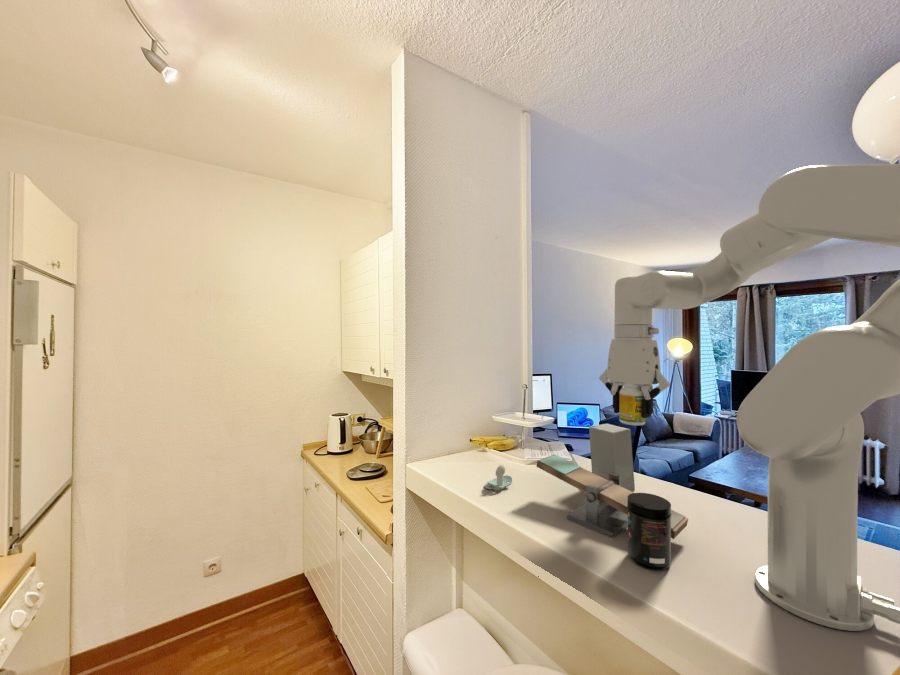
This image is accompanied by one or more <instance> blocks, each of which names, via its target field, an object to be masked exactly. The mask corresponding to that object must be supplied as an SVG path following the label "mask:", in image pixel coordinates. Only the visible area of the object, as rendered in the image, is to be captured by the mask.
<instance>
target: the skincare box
mask: <svg viewBox="0 0 900 675" xmlns="http://www.w3.org/2000/svg"><path fill="white" fill-rule="evenodd" d="M588 429H589V430H588V432H589V434H588V435H589V444H590V446H589V448H590V459H591V460H590V463H591V472H592V473H594V474H596V475H598V476H600V477H602V478H604V479H606V480H609V473H613V474H617V475H620V476H621V487H623V488H625V489H627V490H630V491H632V492H634V493H635V490H636V487H635V474H634V472H635V470H634V458H633V445H632V432H631V431H632V430H631V429H630V428H626V427H621V426H617V425H615V424H611V423H602V424H596V425H591V426H589V427H588Z"/></svg>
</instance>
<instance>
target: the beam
mask: <svg viewBox="0 0 900 675" xmlns="http://www.w3.org/2000/svg"><path fill="white" fill-rule="evenodd" d="M536 468H538V469H540V470H542V471H544V472H545V473H548V474H549V475H552V476H553V477H555V478H557V479H558V480H561V481H563V482H565V483H566V484H568V485H571V486H572V487H574V488H576V489H577V490H580V491H582V492H583V493H585V494H586V485H591V486H594V487H597V488H599V500H600V501H602V502H604V503H606V504H608V505H610V506H612V507H614V508H616V509H618V510H619V511H621V512H623V513H625V514H627V515H628V507H627V504H628V495H630V494H632V493H635V491H634V492H632V491H630V490H627V489H625V488H623V487H621V486H619V485H617V482H616V481H615V480H610V481H609V480H606V479H604V478H602V477H600V476H598V475H596V474H594V473H592V471H589V470H588V469H586V468H584V467H582V466H580V465H578V464H576V463H574V462H572V461H571V460H567V459H565V458H563V457H561V456H559V455H558V454H552V455H549V456H547V457H545V458H541V459H538V460H537V462H536ZM688 522H689V517H686V515H683V514H681V513H680V512H677V511H675V510H673V509H671V540H675V539H676V537H677V536H678V535H679V534H681V533H682V531H683V530H684V529H685V528H686V527H687V525H688Z"/></svg>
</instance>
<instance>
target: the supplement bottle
mask: <svg viewBox="0 0 900 675" xmlns="http://www.w3.org/2000/svg"><path fill="white" fill-rule="evenodd" d="M642 399H644V395H643V392H642V388H641V386H639V385H634V384H631V383H624V384H623V388H622V389H621V390H620V392H619V413H618V415H619V416H618V418H619V422H620V423H621V424H624V425H629V426H644V425H645V424H646V421H647V418H642Z"/></svg>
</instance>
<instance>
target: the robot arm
mask: <svg viewBox="0 0 900 675" xmlns="http://www.w3.org/2000/svg"><path fill="white" fill-rule="evenodd" d="M831 239H839V240H848V241H854V242H855V241H856V242H865V243H872V244H880V245H886V246H891V247H898V248H900V163H889V164H887V163H886V164H885V163H884V164H883V163H881V164H877V163H875V164H820V165H819V164H817V165H808V166H803V167H799V168H796V169H793V170H791V171H789V172H787V173H784V174H783V175H781V176H779V177H778V178H777V179H776V180H775V181H773V182H772V183H771V184H770V185H769V186H768V187H767V188H766V189H765V191H764V192H763V194H762V195H761V198H760V200H759V203H758V212H757V213H755V214H753V215H751V216H750V217H748V218H747V219H745V220H743V221H741V222H740V223H737V224H735V225H734V226H733V227H730V228H728V229H727V230H725V231H724V232H723V234H722V235H721V236H720V240H719V248H720V251H721V252H720V253H719V254H717V256H716V257H714V258H712V259H711V260H710V261H707V262H706V263H705V264H703V265H701V266H699V267H697V268H695V269H692V270H691V271H687V272H681V271H667V270H655V271H649V272H647V273H644V274H641V275H638V276H636V275H635V276H625V277H621V278H619V279H618V280H616V281H615V284H614V325H613V326H614V329H613V330H614V332H613V333H614V339H613V338H612V339H611V341H610V345H609V349H608V350H609V351H608V356H607V367H606V369H605V370H604V372H603V373H602V374H601V375H600V376H599V378H598V380H600V382H601V383H602V384H603V385H604V386H605V387H606V389H607V390H608V391H609V392H610V395H611V396H612V408H613V413H614V414H619V392H620V390H621V389H622V388H624V386H623V384H624V383H631V384H634V385H639V386H641V389H642V392H643V395H644V399H642V418H646V419H647V418H650V417H652V414H653V413H654V399H655V398H656V397H657V396H659V394H661V393H662V392H663V391H665V390H667V389H668V388H669V387H670V386H671V383H670V381H668V380H667V378H666V377H665V376H664V375H663V374H662V372H661V359H660V351H659V345H658V341H657V339H653V338H654V335H655V336H656V335H659V333H660V328H659V327H654V325H653V309H660V310H663V309H664V310H668V309H670V310H671V309H672V310H689V309H693V308H697V307H700V306H701V305H704V304H707V303H709V302H711V301H713V300H716V299H719V298H720V297H722V296H725V295H726V294H729V293H731V292H732V291H734V290H735V289H737V288H738V287H740V286H741V285H742V284H743V283H745V282H746V281H748V280H749V279H750V278H751V277H752V276H753V275H755V274H756V273H758V272H761V271H763V270H764V269H767V268H768V267H771V266H773V265H775V264H778V263H780V262H781V261H784V260H786V259H789V258H791V257H793V256H795V255H797V254H800V253H802V252H804V251H807V250H808V249H811V248H813V247H815V246H818V245H820V244H822V243H824V242H827V241H828V240H831ZM657 384H658V385H657ZM653 385H657V386H656V387H653ZM898 395H900V278H899V279H898V280H896V281H895V282H893V283H892V285H890V287H888V288H887V289H886V290H885V291H884V292H883V293H882V295H881V296H880V297H879V298H878V299H877V300H876V301H875V302H874V303H873V304H872V305H871V306H870V307H869V308H868V309H867V310H866V311H865V312H864V313H863V314H862V315H861V316H860V317H858V318H857V319H856V320H855V321H853V322H852V323H851V324H849V325H835V326H830V327H826V328H823V329H819V330H816V331H814V332H812V333H810V334H809V335H807V336H805V337H804V338H802V339H801V340H799V341H798V342H797V343H795V344H794V345H793V346H792V347H791V348H790V349H789V350H788V351H787V352H786V353H785V354H784V355H783V356H782V357H781V358H780V359H779V360H778V362H777V363H776V364H775V365H774V366H773V367H772V368H771V369H770V370H769V372H767V374H766V375H764V377H762V379H761V380H760V381H759V382H758V383H757V384H756V385H755V386H754V387H753V389H752V390H750V392H749V393H748V394H747V395H746V396H745V398H744V399H743V401H741V404H740V406H739V408H738V410H737V412H736V413H737V414H736V427H737V430H738V433H739V435H740V437H741V439H742V440H743V442H745V444H746V445H747V447H749V448H750V449H752V450H753V451H754V452H755V453H758V454H760V455H762V456H764V457H767V458H769V460H768V465H767V466H768V467H767V565H763V566H760V567H758V568H757V569H756V570H755V572H754V582H755V584H756V586H757V588H758V590H759V591H760V592H761V593H762V594H763V595H764V596H765V597H766V598H768V599H769V600H770V601H772V603H774V604H776V605H777V606H779V607H781V608H782V609H784V610H785V611H787V612H789V613H791V614H793V615H795V616H798V617H800V618H801V619H803V620H805V621H806V620H807V621H809V622H812V623H814V624H816V625H817V624H818V625H821V626H824V627H827V628H831V629H834V630H835V629H837V630H841V631H849V632H862V631H866V630H869V629H870V628H872V627H873V626H874V623H875V615H876V616H879V617H880V618H884V619H886V620H888V621H890V622H892V623H895V624H898V625H900V607H898V606H895V599H894V598H891V597H888V596H884V595H882V594H878V593H874V592H872V591H869V590H868V588H866V587H863V586H862V577H861V575H858V503H859V492H858V491H859V490H858V488H859V473H860V463H861V457H862V451H863V447H864V440H865V438H864V437H865V424H864V418H863V416H862V414H861V413H862V412H863V411H864V410H866V409H867V408H868V407H869V406H871V405H873V403H875V402H877V401H878V400H882V399H886V398H887V399H888V398H891V397H895V396H898Z"/></svg>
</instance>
